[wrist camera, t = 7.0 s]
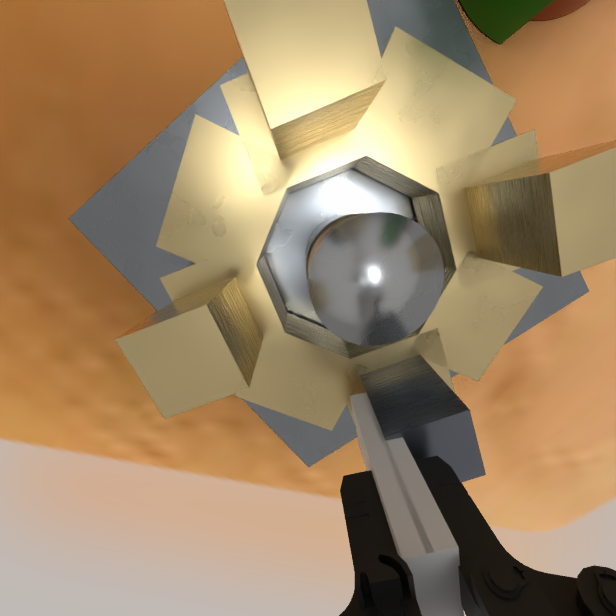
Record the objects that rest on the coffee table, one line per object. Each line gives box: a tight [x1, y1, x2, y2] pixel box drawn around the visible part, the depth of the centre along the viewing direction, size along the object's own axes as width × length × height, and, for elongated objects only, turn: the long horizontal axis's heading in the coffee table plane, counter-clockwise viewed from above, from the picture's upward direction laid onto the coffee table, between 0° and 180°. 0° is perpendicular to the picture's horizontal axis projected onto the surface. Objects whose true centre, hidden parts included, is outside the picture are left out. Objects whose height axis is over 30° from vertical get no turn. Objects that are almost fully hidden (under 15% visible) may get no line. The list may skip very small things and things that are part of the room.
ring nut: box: [115, 0, 616, 482], centre depth 12 cm, size 16×16×7 cm
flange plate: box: [69, 0, 589, 467], centre depth 13 cm, size 20×20×8 cm
